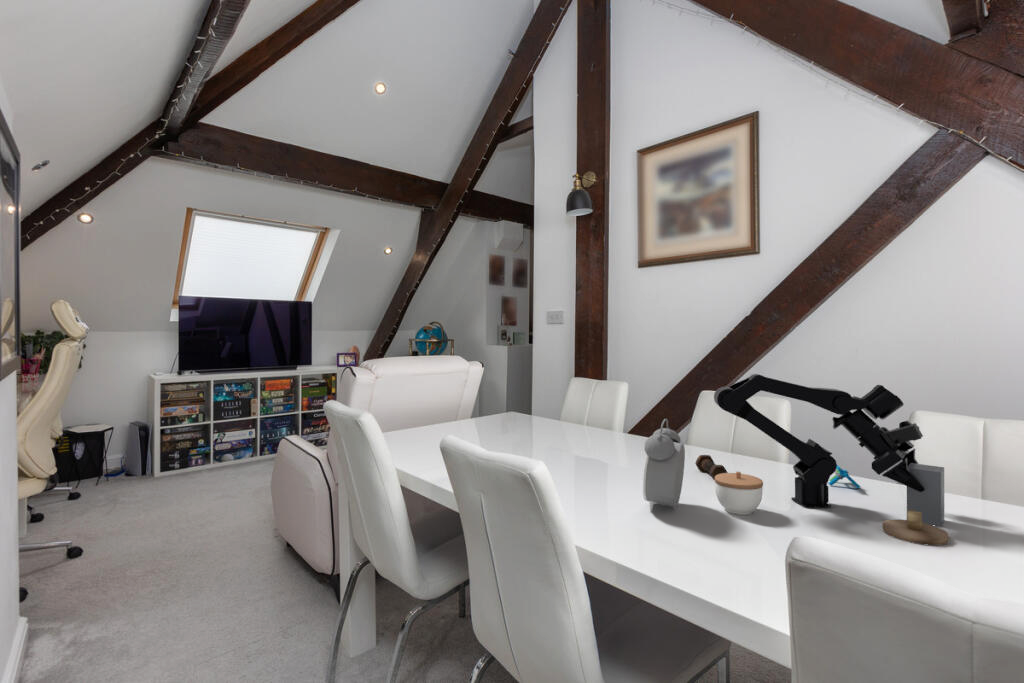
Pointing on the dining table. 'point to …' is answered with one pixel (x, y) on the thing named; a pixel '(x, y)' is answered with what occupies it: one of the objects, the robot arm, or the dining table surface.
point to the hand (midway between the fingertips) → (925, 486)
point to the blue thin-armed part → (841, 475)
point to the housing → (927, 493)
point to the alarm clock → (663, 467)
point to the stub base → (915, 530)
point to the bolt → (709, 466)
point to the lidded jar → (738, 492)
